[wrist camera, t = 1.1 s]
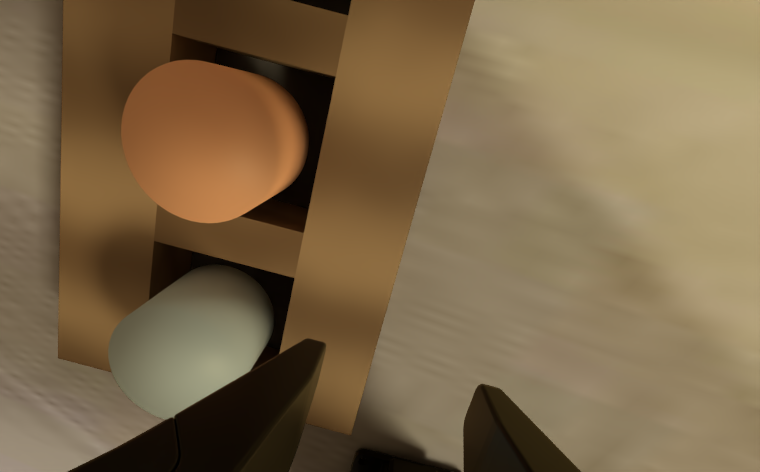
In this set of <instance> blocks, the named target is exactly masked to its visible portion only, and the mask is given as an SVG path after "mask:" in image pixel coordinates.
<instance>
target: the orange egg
mask: <svg viewBox="0 0 760 472" xmlns="http://www.w3.org/2000/svg"><path fill="white" fill-rule="evenodd" d="M121 138H122V146H123V150H124V154H125V158H126V161H127V163H128V166H129V168H130V170H131V172H132V174H133V176H134V178H135V179H136V181H137V182H138V184H139V185H140V187H141V188H142V189H143V190H144V192H145V193H146V194H147V195H148V196H149V197H150V198H151V199H152V200H153V201H154V202H156V203H157V204H158V205H159V206H161V207H162V208H163V209H165V210H167V211H168V212H170V213H172V214H174V215H176V216H178V217H180V218H183V219H186V220H189V221H194V222H199V223H220V222H225V221H229V220H232V219H235V218H237V217H239V216H241V215H243V214H245V213H247V212H248V211H250V210H251V209H253V208H255V207H256V206H258V205H260V204H261V203H263V202H265V201H266V200H268V199H270V198H271V197H273V196H274V195H276V194H278V193H279V192H281V191H283V190H284V189H286V188H287V187H288V186H290V185H291V184H292V183H293V182H294V181H295V180H296V178H297V177H298V176H299V174H300V173H301V171H302V169H303V167H304V165H305V162H306V159H307V155H308V150H309V133H308V127H307V123H306V120H305V117H304V114H303V112H302V110H301V108H300V106H299V105H298V103H297V102H296V100H295V99H294V98H293V96H292V95H291V94H290V93H289V92H288V91H287V90H286V89H285V88H284V87H282V86H281V85H280V84H278V83H277V82H275V81H274V80H272V79H269V78H267V77H265V76H262V75H259V74H255V73H251V72H247V71H243V70H238V69H234V68H230V67H226V66H222V65H218V64H213V63H209V62H204V61H199V60H178V61H173V62H169V63H166V64H163V65H161V66H159V67H156V68H155V69H153V70H152V71H150V72H149V73H147V74H146V75H145V76H144V77H143V78H142V79H141V80H140V81H139V82H138V83H137V84H136V86H135V87H134V88H133V90H132V92H131V93H130V95H129V97H128V99H127V102H126V104H125V107H124V111H123V115H122V123H121Z"/></svg>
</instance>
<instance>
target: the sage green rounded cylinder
mask: <svg viewBox="0 0 760 472" xmlns="http://www.w3.org/2000/svg"><path fill="white" fill-rule="evenodd" d="M274 323H275V318H274V310H273V307H272V303H271V301H270V299H269V297H268V295H267V294H266V292H265V290H264V289H263V288H262V287H261V285H260V284H259V283H258V282H257V281H255V280H254V279H253V278H252V277H250V276H249V275H247V274H246V273H244V272H242V271H240V270H238V269H236V268H233V267H229V266H225V265H205V266H201V267H198V268H195V269H193V270H191V271H189V272H188V273H186V274H185V275H184V276H182V277H181V278H179V279H178V280H177V281H175V282H174V283H172V284H171V285H170V286H168V287H167V288H165V289H164V290H163V291H161V292H160V293H158V294H157V295H156V296H154V297H153V298H152V299H150V300H149V301H147V302H146V303H145V304H143V305H142V306H140V307H139V308H138V309H136V310H135V311H133V312H132V313H131V314H129V315H128V316H126V317H125V318H124V319H123V320H122V321H121V322H120V323H119V324H118V325H117V327H116V328H115V329H114V331H113V333H112V335H111V338H110V342H109V348H108V358H109V364H110V368H111V371H112V374H113V376H114V378H115V380H116V382H117V384H118V385H119V387H120V388H121V390H122V391H123V392H124V393H125V395H126V396H127V397H128V398H129V399H130V400H131V401H133V402H134V403H135V404H136V405H137V406H139V407H140V408H142V409H143V410H145V411H146V412H148V413H150V414H152V415H154V416H157V417H159V418H162V419H165V420H166V419H168V418H170V417H173V418H174V416H175V415H176V414H177V413H179V412H181V411H182V410H184V409H186V408H187V407H189V406H191V405H193V404H194V403H196V402H198V401H199V400H201V399H203V398H205V397H206V396H208V395H210V394H211V393H213V392H215V391H217V390H218V389H220V388H222V387H224V386H225V385H227V384H229V383H230V382H232V381H234V380H236V379H237V378H239V377H241V376H242V375H244V374H246V373H248V372H249V371H250V370H251V369H252V367H253V366H254V364H255V362H256V361H257V359H258V358H259V356H260V354H261V353H262V351H263V350H264V348H265V346H266V345H267V343H268V342H269V340H270V338H271V336H272V333H273V330H274Z"/></svg>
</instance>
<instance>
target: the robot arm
mask: <svg viewBox="0 0 760 472" xmlns="http://www.w3.org/2000/svg"><path fill="white" fill-rule="evenodd" d="M325 351H326V343H324V342H322V341H318V340H314V339H310V338H306V339H304V340H302V341H301V342H299V343H297V344H296V345H294V346H292V347H290V348H289V349H287V350H285V351H284V352H282V353H280V354H278V355H277V356H275V357H273V358H272V359H270V360H268V361H266V362H265V363H263V364H261V365H260V366H258V367H256V368H254V369H253V370H251V371H249V372H248V373H246V374H244V375H242V376H241V377H239V378H237V379H236V380H234V381H232V382H230V383H229V384H227V385H225V386H224V387H222V388H220V389H218V390H217V391H215V392H213V393H211V394H210V395H208V396H206V397H205V398H203V399H201V400H199V401H198V402H196V403H194V404H193V405H191V406H189V407H187V408H186V409H184V410H182V411H181V412H179V413H177V414H176V415H175V416H174V418H173V417H170V418H168V419H166V420H165V421H163V422H161V423H160V424H158V425H156V426H154V427H153V428H151V429H149V430H147V431H146V432H144V433H142V434H140V435H138V436H136V437H135V438H133V439H131V440H129V441H127V442H126V443H124V444H122V445H120V446H118V447H116V448H115V449H113V450H111V451H109V452H106V453H104V454H102V455H100V456H98V457H96V458H94V459H92V460H90V461H88V462H86V463H84V464H82V465H80V466H78V467H76V468H74V469H72V470H70V471H68V472H288V471H289V469H290V466H291V464H292V462H293V459H294V456H295V453H296V450H297V448H298V444H299V441H300V438H301V435H302V432H303V429H304V425H305V422H306V419H307V416H308V413H309V410H310V406H311V403H312V400H313V397H314V394H315V391H316V387H317V384H318V380H319V376H320V372H321V368H322V364H323V360H324V356H325ZM463 436H464V472H581V471H580V470H579V469H578V468H577V467H576V466H575V465H574V464H573V463H572V462H571V461H570V460H569V459H568V458H567V457H566V456H565V455H564V454H563V453H562V452H561V451H560V450H559V449H558V448H557V447H556V445H555V444H554V443H553V442H552V441H551V440H550V439H549V438H548V437H547V436H546V435H545V434H544V433H543V432H542V431H541V430H540V429H539V428H538V427H537V426H536V425H535V424H534V423H533V422H532V421H531V420H530V419H529V418H528V417H527V416H526V415H525V414H524V413H523V412H522V411H521V410H520V409H519V408H518V406H517V405H516V404H515V403H514V402H513V401H512V400H511V399H510V398H509V397H508V396H507V395H506V394H505V393H504V392H503V391H502V390H501V389H499V388H496V387H493V386H489V385H485V384H480V385H479V386H478V387H477V388H476V390H475V393H474V396H473V398H472V401H471V403H470V406H469V409H468V411H467V414H466V417H465V420H464V429H463ZM361 458H365V459H361ZM350 472H451V471H447V470H443V469H439V468H435V467H432V466H428V465H424V464H420V463H416V462H413V461H409V460H405V459H401V458H397V457H394V456H390V455H386V454H382V453H379V452H375V451H371V450H367V449H359V450H358V451H356V453H355V456H354V460H353V463H352V466H351V470H350Z"/></svg>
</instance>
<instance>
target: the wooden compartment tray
mask: <svg viewBox="0 0 760 472" xmlns="http://www.w3.org/2000/svg"><path fill="white" fill-rule="evenodd" d="M474 1H475V0H351V5H350V9H349V14H348V15H344V14H340V13H336V12H333V11H329V10H325V9H321V8H318V7H314V6H310V5H306V4H302V3H299V2H295V1H291V0H63V53H62V120H61V188H60V255H59V323H58V358H60V359H63V360H67V361H71V362H75V363H78V364H82V365H86V366H90V367H94V368H97V369H101V370H105V371H109V372H112V371H111V368H110V364H109V358H108V348H109V342H110V338H111V335H112V333H113V331H114V329H115V328H116V327H117V325H118V324H119V323H120V322H121V321H122V320H123V319H124V318H125V317H126V316H128V315H129V314H131V313H132V312H133V311H135V310H136V309H138V308H139V307H140V306H142V305H143V304H145V303H146V302H147V301H149V300H150V299H152V298H153V297H154V296H156V295H157V294H158V293H160V292H161V291H163V290H164V289H165V288H167V287H168V286H170V285H171V284H172V283H174V282H175V281H177V280H178V279H179V278H181V277H182V276H184V275H185V274H186V273H188V272H189V271H190V268H191V260H192V252H193V251H194V252H198V253H202V254H206V255H209V256H213V257H217V258H221V259H224V260H228V261H232V262H236V263H240V264H243V265H247V266H251V267H255V268H259V269H262V270H266V271H270V272H274V273H278V274H281V275H285V276H289V277H293V278H295V279H294V284H293V289H292V294H291V299H290V304H289V308H288V313H287V318H286V323H285V328H284V333H283V338H282V343H281V348H280V350H279V349H275V348H271V347H268V346H265V348H264V350H263V351H262V353H261V354H260V356H259V358H258V359H257V361H256V362H255V364H254V366H253V367H252V369H251V370H253V369H254V368H256V367H258V366H260V365H261V364H263V363H265V362H266V361H268V360H270V359H272V358H273V357H275V356H277V355H278V354H280V353H282V352H284V351H285V350H287V349H289V348H290V347H292V346H294V345H296V344H297V343H299V342H301V341H302V340H304V339H306V338H310V339H314V340H318V341H322V342H324V343H326V351H325V356H324V360H323V364H322V368H321V372H320V376H319V380H318V384H317V387H316V391H315V394H314V397H313V400H312V403H311V406H310V410H309V413H308V416H307V419H306V422H305V423H306V424H310V425H314V426H317V427H321V428H325V429H329V430H332V431H336V432H340V433H344V434H348V435H351V433H352V429H353V426H354V422H355V419H356V415H357V412H358V408H359V405H360V401H361V398H362V394H363V391H364V387H365V384H366V380H367V377H368V373H369V370H370V366H371V363H372V359H373V356H374V352H375V349H376V345H377V342H378V338H379V335H380V331H381V328H382V324H383V321H384V317H385V314H386V310H387V307H388V303H389V300H390V296H391V292H392V289H393V285H394V282H395V278H396V275H397V271H398V268H399V264H400V261H401V257H402V254H403V250H404V247H405V243H406V240H407V236H408V233H409V229H410V226H411V222H412V219H413V215H414V212H415V208H416V205H417V201H418V198H419V194H420V191H421V187H422V184H423V180H424V177H425V173H426V170H427V166H428V163H429V159H430V156H431V152H432V149H433V145H434V142H435V138H436V135H437V131H438V128H439V124H440V121H441V117H442V114H443V110H444V107H445V103H446V100H447V96H448V93H449V89H450V86H451V82H452V79H453V75H454V72H455V68H456V64H457V61H458V57H459V54H460V50H461V47H462V43H463V40H464V36H465V33H466V29H467V26H468V22H469V19H470V15H471V12H472V8H473V5H474ZM217 48H219V49H223V50H227V51H231V52H234V53H238V54H242V55H246V56H250V57H253V58H257V59H261V60H265V61H269V62H272V63H276V64H280V65H284V66H287V67H291V68H295V69H299V70H303V71H306V72H310V73H314V74H318V75H322V76H325V77H329V78H333V79H335V83H334V88H333V93H332V98H331V103H330V107H329V112H328V117H327V122H326V127H325V132H324V137H323V142H322V147H321V152H320V156H319V161H318V166H317V171H316V176H315V181H314V186H313V191H312V196H311V201H310V206H309V209H307V208H303V207H299V206H295V205H292V204H288V203H284V202H280V201H276V200H273V199H268V200H266V201H265V202H263V203H261V204H260V205H258V206H256V207H255V208H253V209H251V210H250V211H248V212H247V213H245V214H243V215H241V216H239V217H237V218H235V219H232V220H229V221H225V222H220V223H199V222H194V221H189V220H186V219H183V218H180V217H178V216H176V215H174V214H172V213H170V212H168V211H167V210H165V209H163V208H162V207H161V206H159V205H158V204H157V203H156V202H154V201H153V200H152V199H151V198H150V197H149V196H148V195H147V194H146V193H145V192H144V190H143V189H142V188H141V187H140V185H139V184H138V182H137V181H136V179H135V178H134V176H133V174H132V172H131V170H130V168H129V166H128V163H127V161H126V158H125V154H124V150H123V146H122V138H121V123H122V115H123V111H124V107H125V104H126V102H127V99H128V97H129V95H130V93H131V92H132V90H133V88H134V87H135V86H136V84H137V83H138V82H139V81H140V80H141V79H142V78H143V77H144V76H145V75H146V74H147V73H149V72H150V71H152V70H153V69H155V68H156V67H159V66H161V65H163V64H166V63H169V62H173V61H178V60H199V61H204V62H209V63H213V64H215V59H216V51H217ZM251 370H250V371H251Z"/></svg>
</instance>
